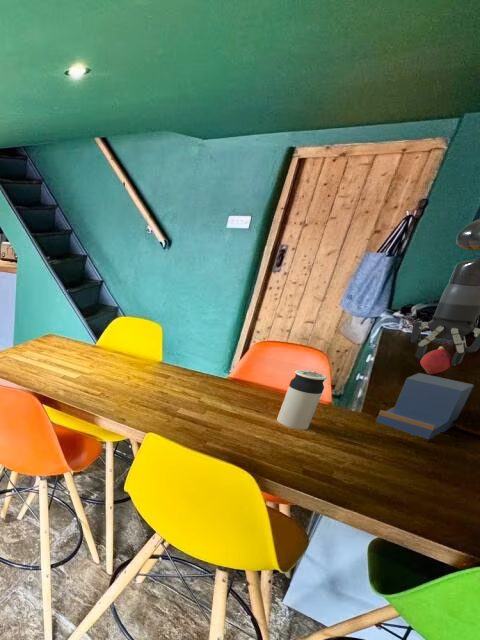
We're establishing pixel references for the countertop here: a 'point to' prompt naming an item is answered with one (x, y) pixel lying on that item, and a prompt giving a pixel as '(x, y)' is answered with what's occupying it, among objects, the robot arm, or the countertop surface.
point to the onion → (436, 361)
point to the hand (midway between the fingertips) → (435, 361)
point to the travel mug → (301, 399)
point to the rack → (426, 405)
